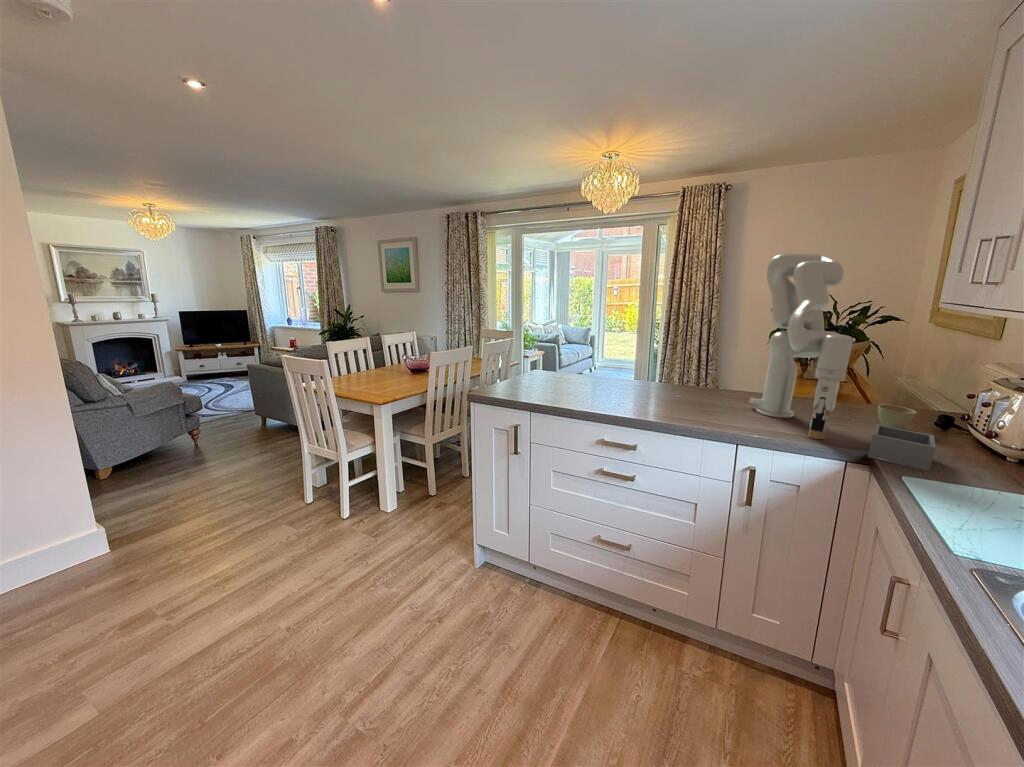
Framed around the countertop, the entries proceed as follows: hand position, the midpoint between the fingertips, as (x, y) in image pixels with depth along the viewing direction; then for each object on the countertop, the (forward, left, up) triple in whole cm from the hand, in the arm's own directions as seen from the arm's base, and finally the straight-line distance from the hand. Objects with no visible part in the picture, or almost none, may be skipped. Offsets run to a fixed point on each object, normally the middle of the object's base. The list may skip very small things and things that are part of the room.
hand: (817, 428), depth 136 cm
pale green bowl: (+18, +33, -4) cm, 38 cm away
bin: (+20, -1, -3) cm, 20 cm away
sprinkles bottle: (0, 0, -4) cm, 4 cm away
